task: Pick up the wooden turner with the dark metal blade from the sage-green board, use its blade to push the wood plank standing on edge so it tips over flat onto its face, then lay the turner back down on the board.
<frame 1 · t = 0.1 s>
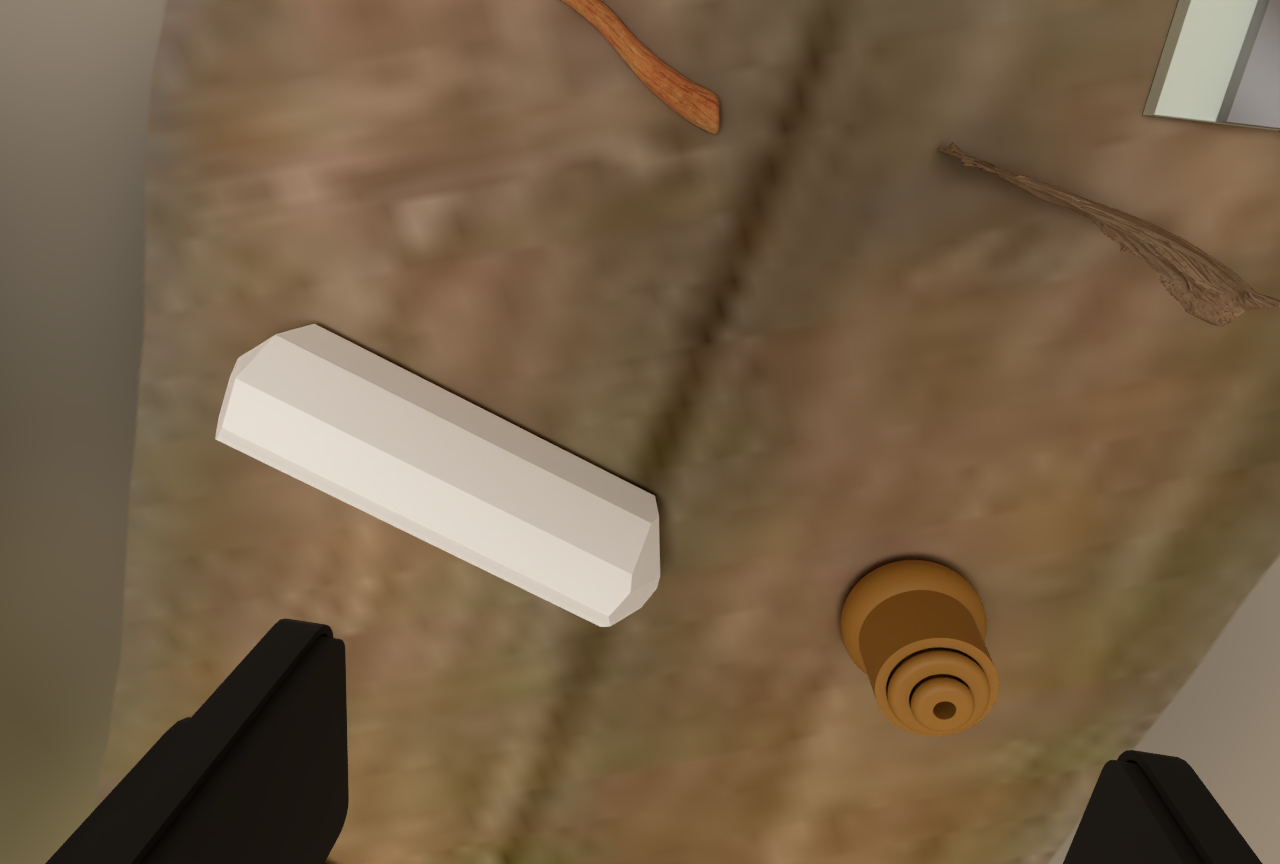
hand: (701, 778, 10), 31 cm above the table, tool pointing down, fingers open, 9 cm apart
crystal: (466, 462, 44), on the table
wood plank: (1078, 230, 37), on the table
ornamental finial: (906, 609, 44), on the table
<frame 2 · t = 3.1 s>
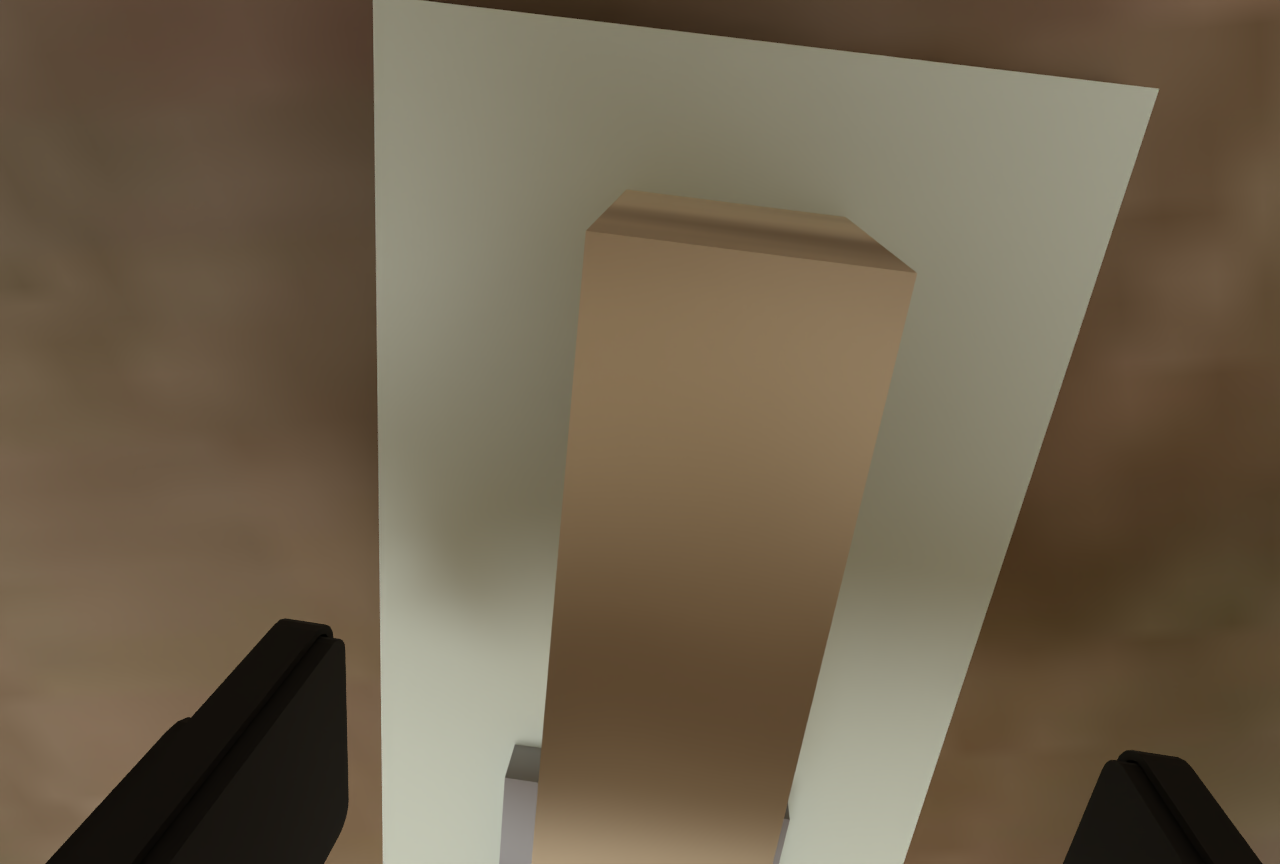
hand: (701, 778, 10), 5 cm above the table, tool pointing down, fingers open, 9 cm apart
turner: (663, 676, 14), point 1 cm above the table, touching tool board
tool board: (659, 684, 15), on the table
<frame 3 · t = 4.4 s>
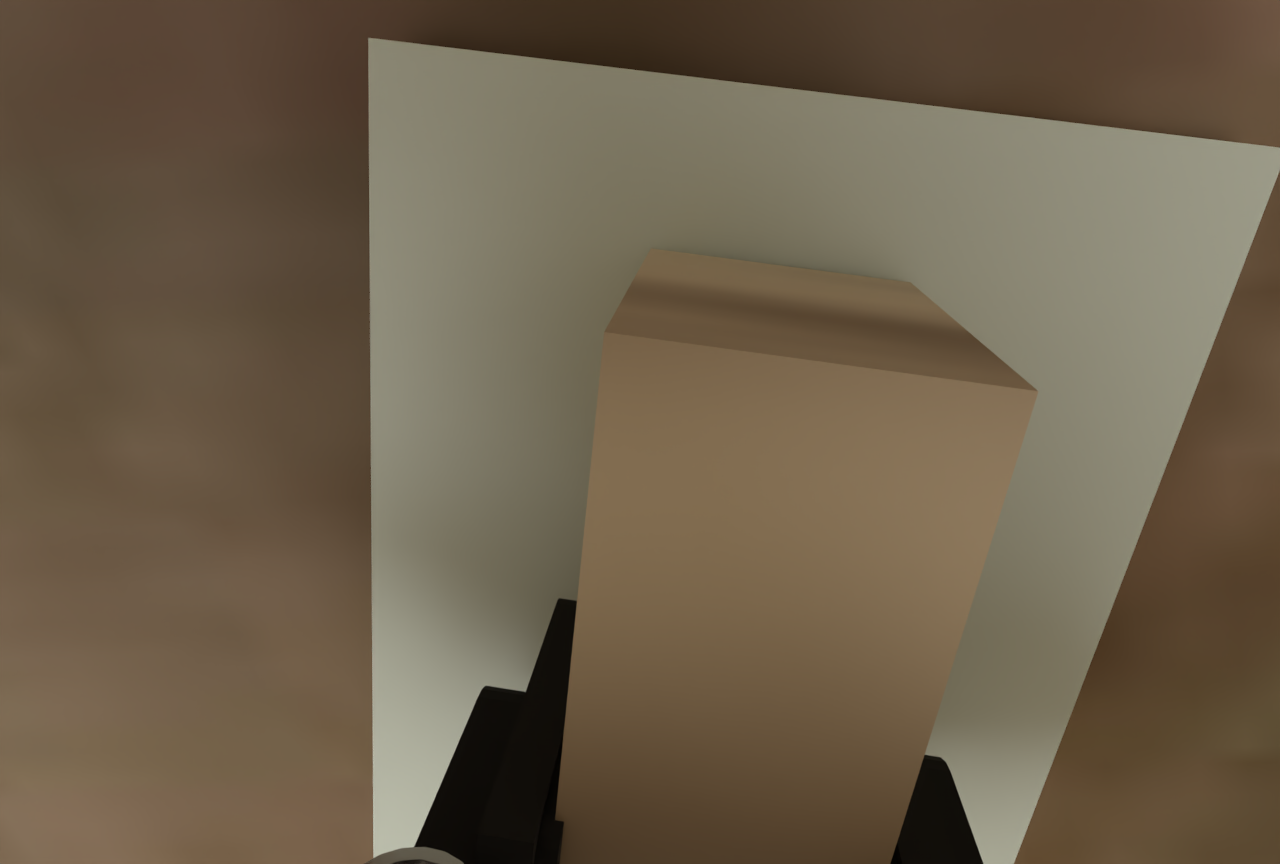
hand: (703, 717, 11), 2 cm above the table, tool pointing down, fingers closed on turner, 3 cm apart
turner: (686, 792, 12), point 1 cm above the table, touching gripper
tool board: (684, 794, 14), on the table
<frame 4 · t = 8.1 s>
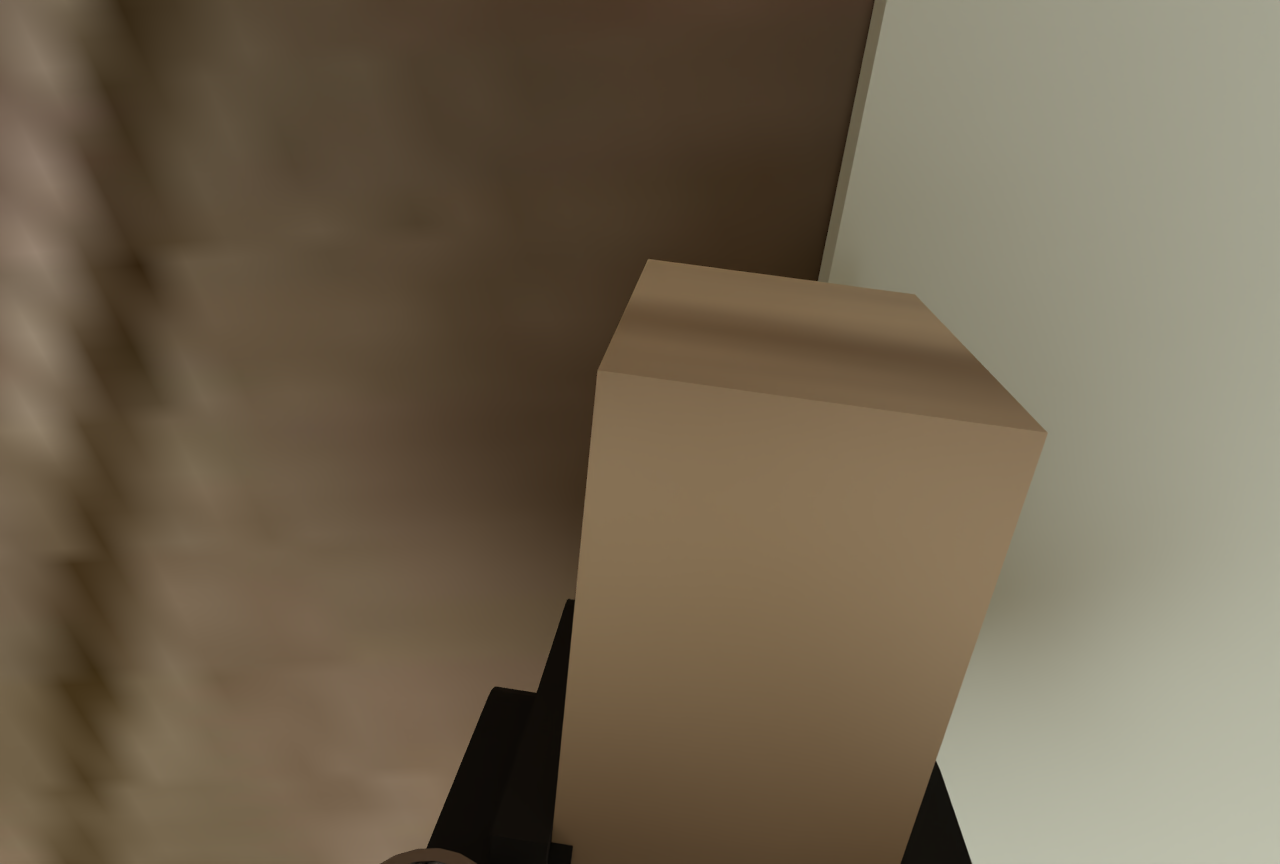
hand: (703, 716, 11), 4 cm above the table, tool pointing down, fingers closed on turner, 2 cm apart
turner: (684, 799, 12), point 3 cm above the table, touching gripper
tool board: (1026, 656, 15), on the table
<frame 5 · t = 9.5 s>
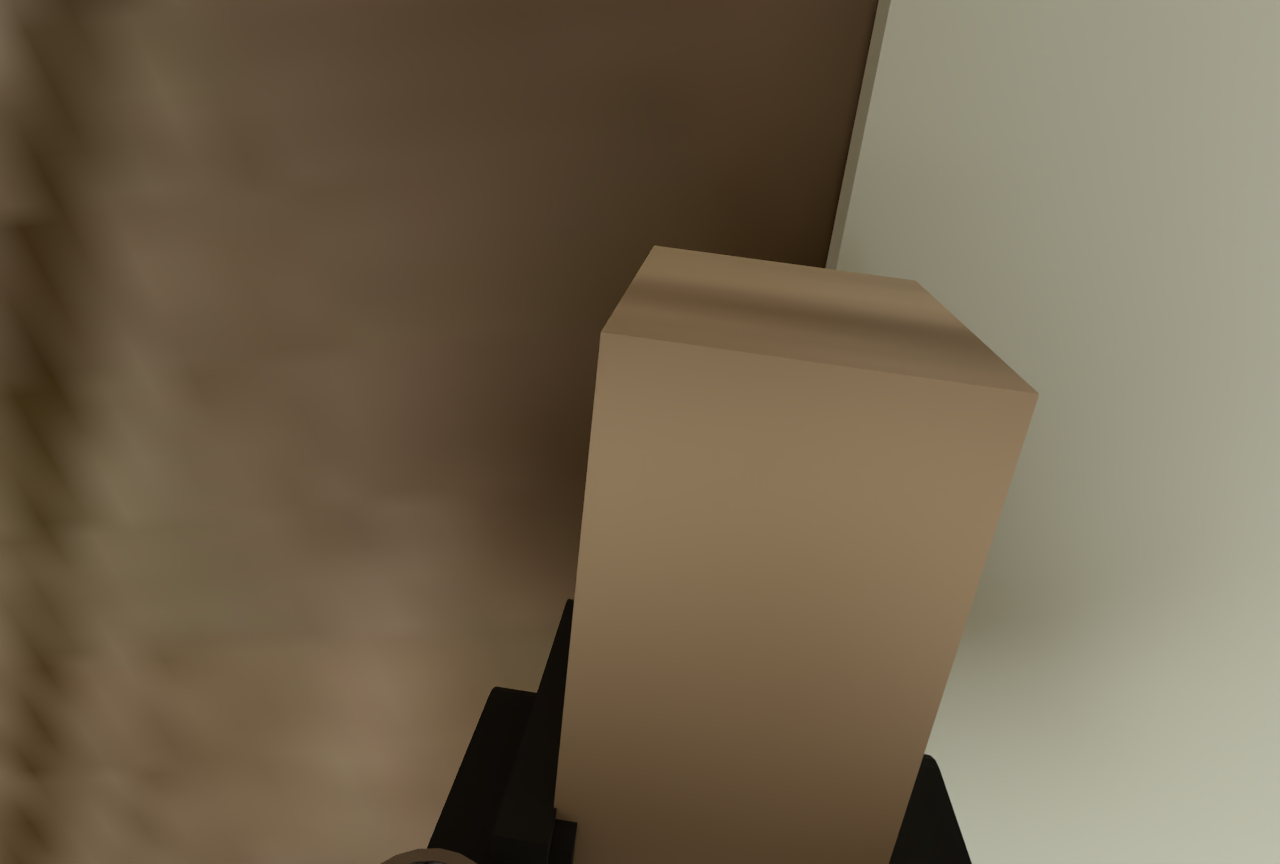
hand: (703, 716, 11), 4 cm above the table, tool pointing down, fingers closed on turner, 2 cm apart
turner: (688, 789, 12), point 3 cm above the table, touching gripper
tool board: (1163, 297, 12), on the table
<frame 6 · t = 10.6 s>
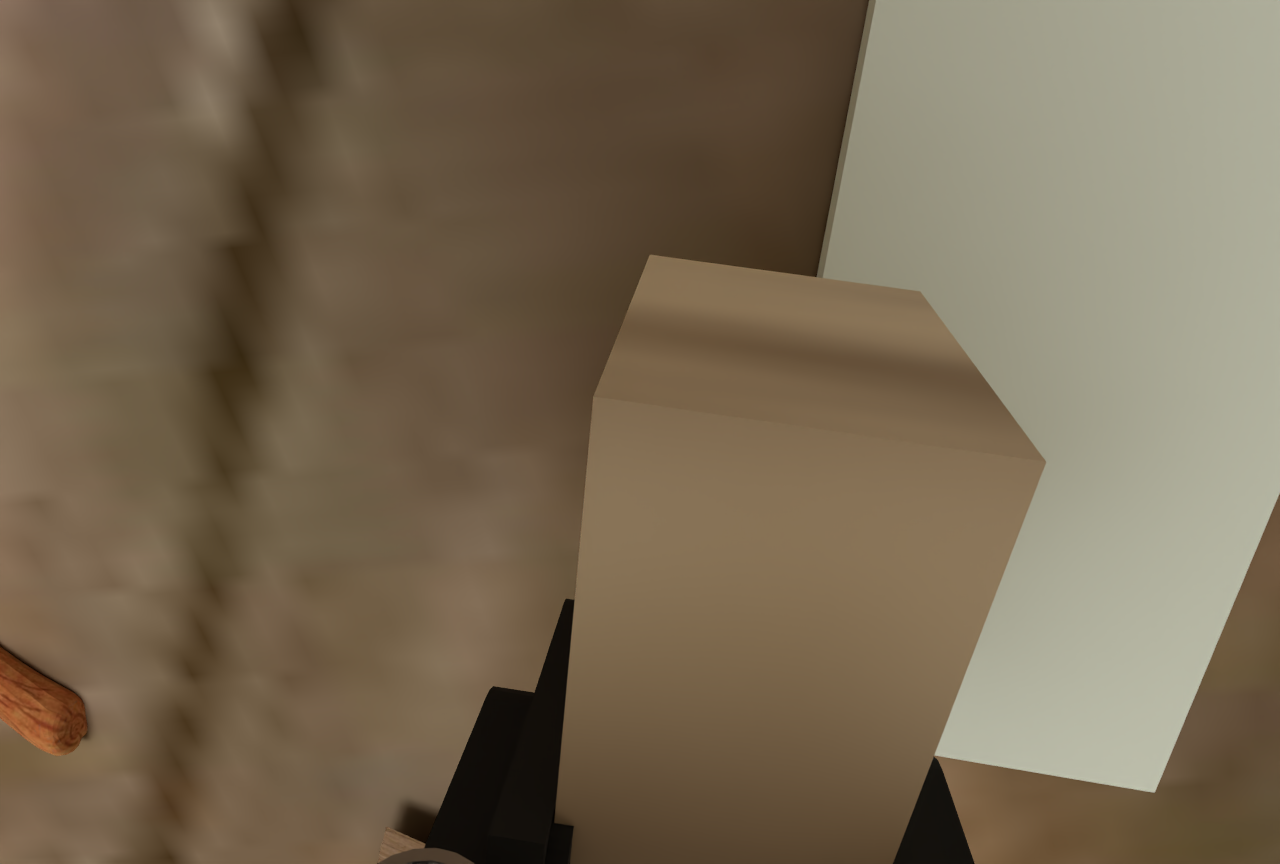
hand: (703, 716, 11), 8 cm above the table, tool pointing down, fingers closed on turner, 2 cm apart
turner: (686, 777, 12), point 8 cm above the table, tilted 7°, touching gripper
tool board: (1058, 300, 17), on the table
when the fingers open (3 cm above the table, at t = 14.2 s): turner drops 1 cm, resting on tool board.
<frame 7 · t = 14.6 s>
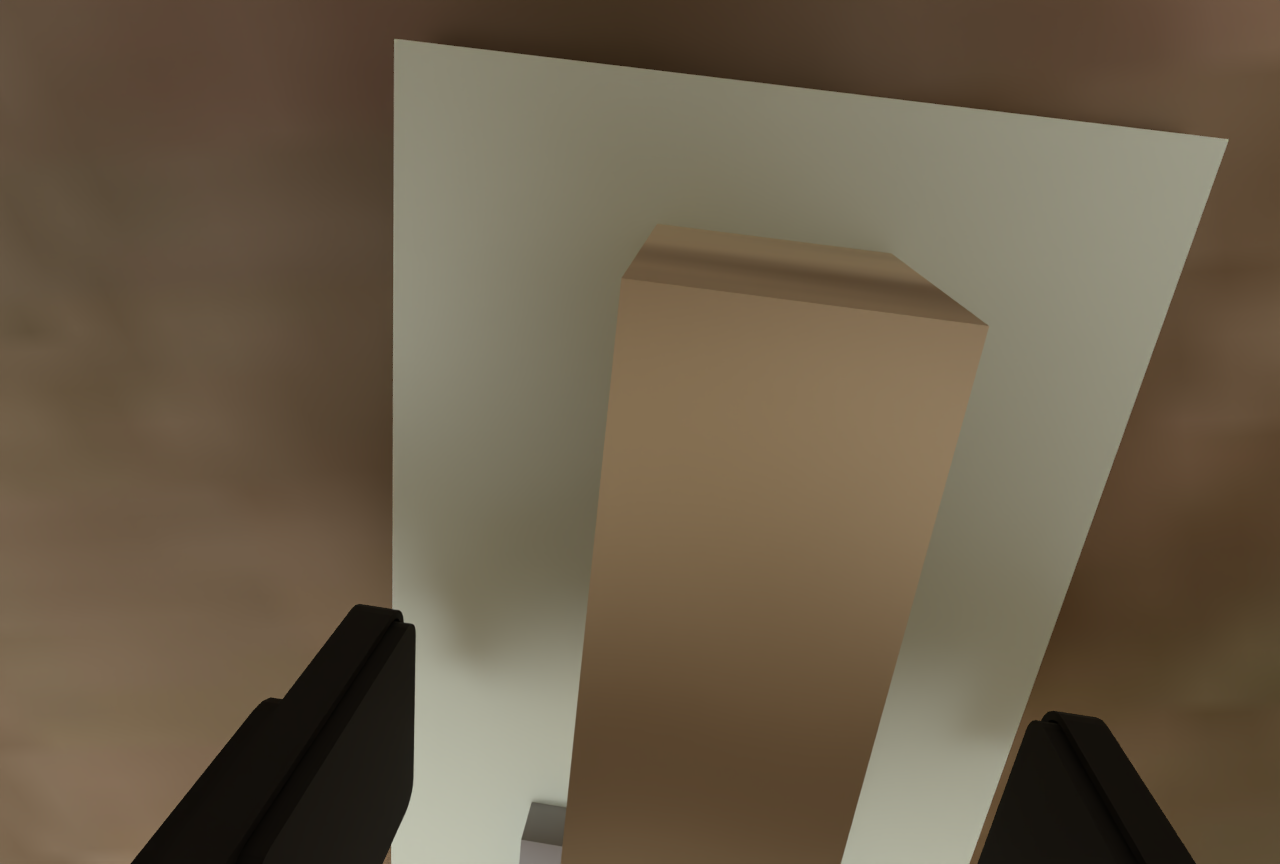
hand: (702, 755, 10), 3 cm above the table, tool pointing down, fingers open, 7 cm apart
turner: (689, 733, 13), point 1 cm above the table, touching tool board
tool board: (682, 747, 15), on the table
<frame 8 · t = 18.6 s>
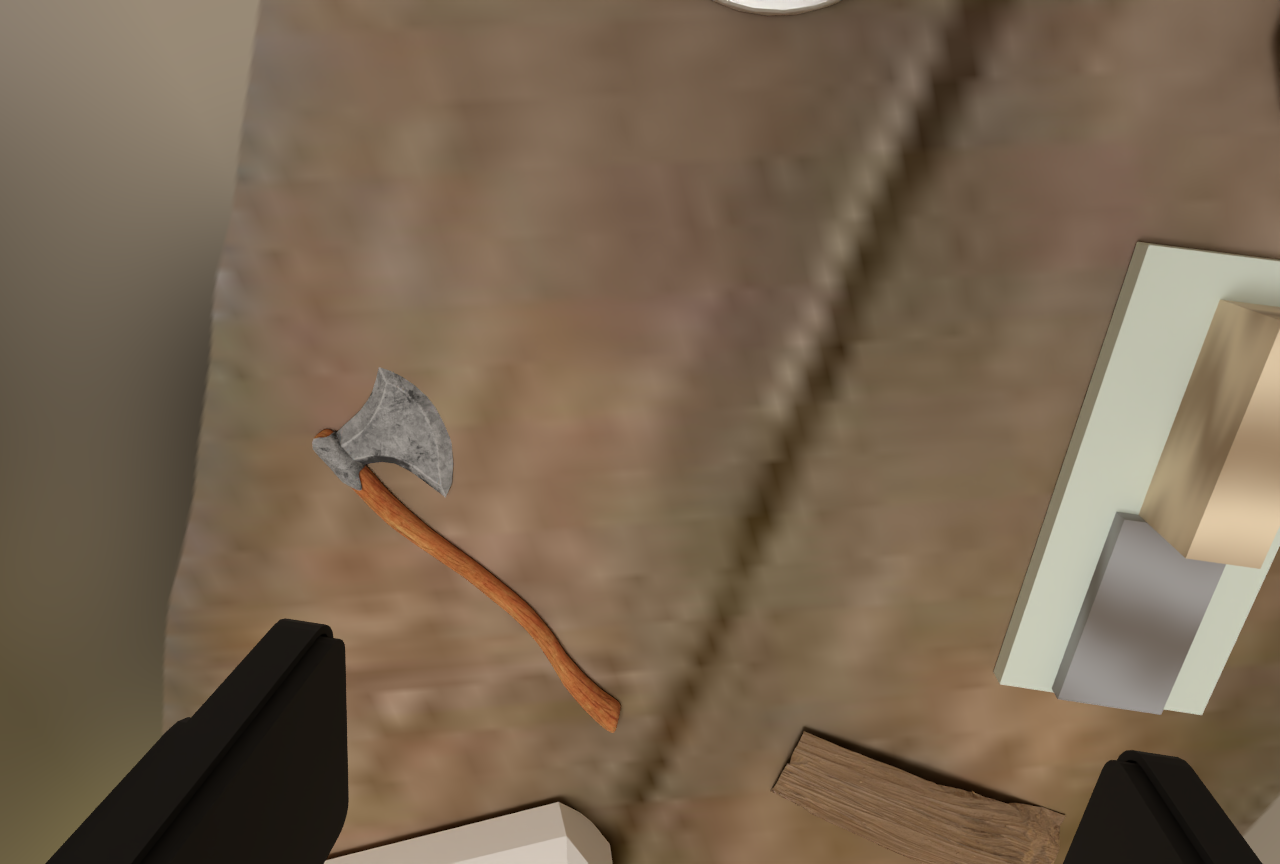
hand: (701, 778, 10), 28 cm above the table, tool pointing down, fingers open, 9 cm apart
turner: (1187, 479, 36), point 1 cm above the table, touching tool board
wood plank: (939, 774, 44), point 1 cm above the table
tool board: (1166, 494, 37), on the table
axe: (508, 548, 43), on the table
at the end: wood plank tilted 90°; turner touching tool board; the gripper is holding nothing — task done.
